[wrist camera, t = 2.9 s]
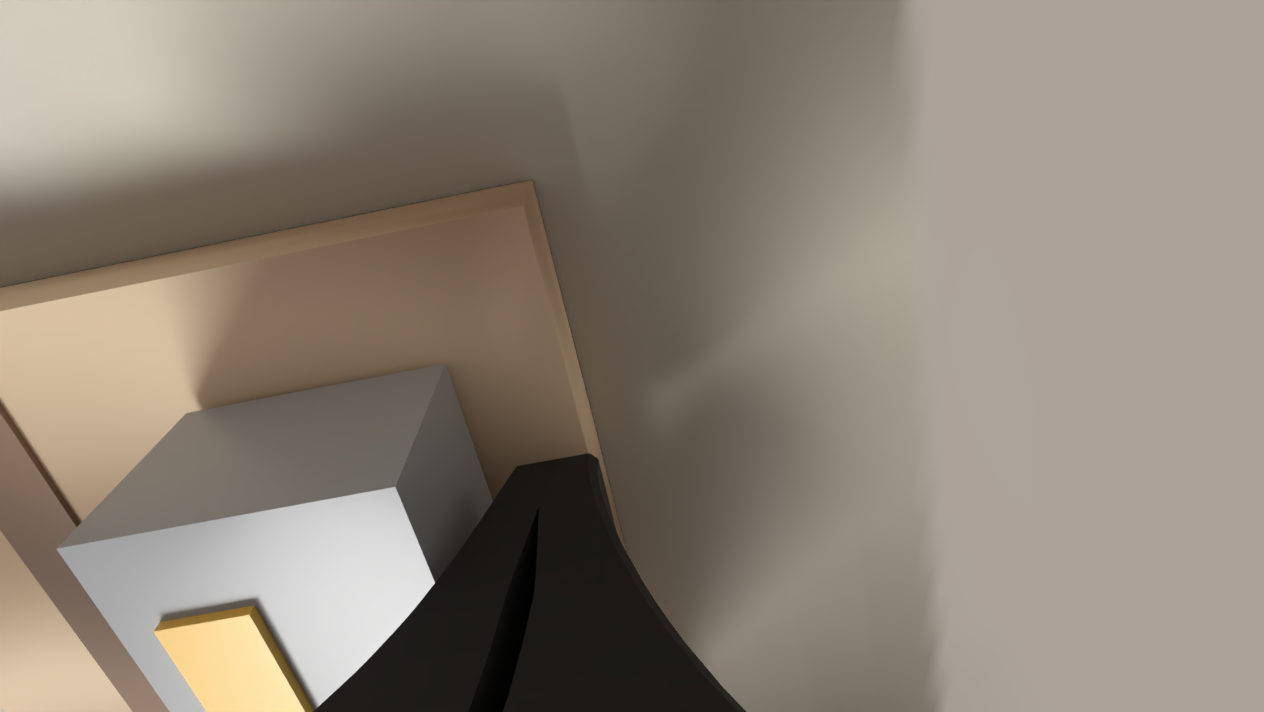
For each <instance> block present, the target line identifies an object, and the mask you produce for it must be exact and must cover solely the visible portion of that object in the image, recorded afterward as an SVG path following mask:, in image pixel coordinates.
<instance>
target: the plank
mask: <svg viewBox="0 0 1264 712" xmlns="http://www.w3.org/2000/svg"><path fill="white" fill-rule="evenodd" d="M441 364H446V366H447V369H448V372H449V375H450V378H451V381H452V384H453V387H454V390H455V392H456V395H457V398H458V401H459V404H460V407H461V410H462V413H463V416H464V419H465V421H466V424H467V427H468V430H469V433H470V436H471V439H472V442H473V445H474V448H475V451H476V453H477V456H478V459H479V462H480V465H481V468H482V471H483V474H484V477H485V480H486V482H487V485H488V488H489V491H490V494H491V497H492V500H494V499H495V497H496V496H497V494H498V493H499V491H500V490H501V488H502V487H503V485H504V484H505V482H506V481H507V479H508V478H509V476H510V475H511V474H512V472H513V471H514V469H515V468H516V467H517V466H520V465H526V464H532V463H537V462H543V461H548V460H554V459H560V458H565V457H571V456H576V455H582V454H588V453H590V454H592V455H593V456H595V457H597V458H598V459H599V463H600V467H601V471H602V475H603V479H604V483H605V487H606V491H607V495H608V499H609V503H610V507H611V511H612V515H613V519H614V523H615V527H616V531H617V534H618V536H619V538H620V541H621V543H622V545H623V547H624V549H625V551H626V547H625V543H624V539H623V535H622V531H621V527H620V523H619V519H618V516H617V512H616V508H615V504H614V500H613V496H612V492H611V488H610V484H609V480H608V476H607V472H606V468H605V464H604V460H603V456H602V453H601V449H600V445H599V441H598V437H597V433H596V429H595V425H594V421H593V417H592V413H591V409H590V405H589V401H588V397H587V393H586V389H585V386H584V382H583V378H582V374H581V370H580V366H579V362H578V358H577V354H576V350H575V346H574V342H573V338H572V334H571V330H570V326H569V322H568V319H567V315H566V311H565V307H564V303H563V299H562V295H561V291H560V287H559V283H558V279H557V275H556V271H555V267H554V263H553V259H552V255H551V252H550V248H549V244H548V240H547V236H546V232H545V228H544V224H543V220H542V216H541V212H540V208H539V204H538V200H537V196H536V192H535V188H534V185H533V181H532V180H529V181H524V182H519V183H514V184H509V185H504V186H499V187H494V188H489V189H484V190H479V191H474V192H470V193H465V194H460V195H455V196H450V197H445V198H440V199H435V200H430V201H425V202H420V203H415V204H411V205H406V206H401V207H396V208H391V209H386V210H381V211H376V212H371V213H366V214H361V215H356V216H351V217H347V218H342V219H337V220H332V221H327V222H322V223H317V224H312V225H307V226H302V227H297V228H292V229H287V230H283V231H278V232H273V233H268V234H263V235H258V236H253V237H248V238H243V239H238V240H233V241H228V242H223V243H219V244H214V245H209V246H204V247H199V248H194V249H189V250H184V251H179V252H174V253H169V254H164V255H159V256H155V257H150V258H145V259H140V260H135V261H130V262H125V263H120V264H115V265H110V266H105V267H100V268H95V269H91V270H86V271H81V272H76V273H71V274H66V275H61V276H56V277H51V278H46V279H41V280H36V281H31V282H27V283H22V284H17V285H12V286H7V287H2V288H0V708H1V709H2V710H3V712H170V711H169V710H168V709H167V707H166V706H165V704H164V703H163V701H162V700H161V698H160V697H159V696H158V694H157V693H156V691H155V690H154V688H153V687H152V686H151V684H150V683H149V681H148V680H147V678H146V677H145V675H144V674H143V673H142V671H141V670H140V668H139V667H138V665H137V664H136V663H135V661H134V660H133V658H132V657H131V655H130V654H129V652H128V651H127V650H126V648H125V647H124V645H123V644H122V642H121V641H120V640H119V638H118V637H117V635H116V634H115V632H114V631H113V629H112V628H111V627H110V625H109V624H108V622H107V621H106V619H105V618H104V617H103V615H102V614H101V612H100V611H99V609H98V608H97V607H96V605H95V604H94V602H93V601H92V599H91V598H90V596H89V595H88V594H87V592H86V591H85V589H84V588H83V586H82V585H81V584H80V582H79V581H78V579H77V578H76V576H75V575H74V573H73V572H72V571H71V569H70V568H69V566H68V565H67V563H66V562H65V561H64V559H63V558H62V556H61V555H60V553H59V552H58V550H57V548H58V546H59V545H60V544H61V543H62V542H63V541H64V540H65V539H66V538H67V537H68V536H69V535H70V534H71V533H72V532H73V531H74V530H75V529H76V528H77V527H78V526H79V525H80V524H81V522H82V521H83V520H84V519H85V518H86V517H87V516H88V515H89V514H90V513H91V512H92V511H93V510H94V509H95V508H96V507H97V506H98V505H99V504H100V503H101V502H102V501H103V500H104V498H105V497H106V496H107V495H108V494H109V493H110V492H111V491H112V490H113V489H114V488H115V487H116V486H117V485H118V484H119V483H120V482H121V481H122V480H123V479H124V478H125V477H126V476H127V474H128V473H129V472H130V471H131V470H132V469H133V468H134V467H135V466H136V465H137V464H138V463H139V462H140V461H141V460H142V459H143V458H144V457H145V456H146V455H147V454H148V453H149V452H150V450H151V449H152V448H153V447H154V446H155V445H156V444H157V443H158V442H159V441H160V440H161V439H162V438H163V437H164V436H165V435H166V434H167V433H168V432H169V431H170V430H171V429H172V428H173V426H174V425H175V424H176V423H177V422H178V421H179V420H180V419H181V418H182V417H183V416H184V415H185V414H186V413H189V412H195V411H200V410H205V409H210V408H215V407H221V406H226V405H231V404H236V403H242V402H247V401H252V400H257V399H263V398H268V397H273V396H278V395H284V394H289V393H294V392H299V391H304V390H310V389H315V388H320V387H325V386H331V385H336V384H341V383H346V382H352V381H357V380H362V379H367V378H373V377H378V376H383V375H388V374H394V373H399V372H404V371H409V370H414V369H420V368H425V367H430V366H435V365H441ZM626 553H627V551H626Z"/></svg>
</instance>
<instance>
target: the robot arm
mask: <svg viewBox="0 0 1264 712" xmlns="http://www.w3.org/2000/svg"><path fill="white" fill-rule="evenodd" d="M313 712H746V711H745V710H744V709H743V708H742V707H741V706H740V705H739V704H738V703H737V702H736V701H735V700H734V699H733V698H732V697H731V695H730V694H729V693H728V692H727V691H726V690H725V689H724V688H723V687H722V686H721V685H720V683H719V682H718V681H717V680H716V679H715V678H714V676H713V675H712V674H711V673H710V672H709V670H708V669H707V668H706V667H705V666H704V665H703V663H702V662H701V661H700V660H699V659H698V658H697V656H696V655H695V654H694V653H693V652H692V651H691V649H690V648H689V647H688V646H687V645H686V643H685V642H684V641H683V639H682V638H681V637H680V635H679V634H678V633H677V631H676V630H675V629H674V627H673V626H672V625H671V623H670V622H669V620H668V619H667V618H666V616H665V615H664V613H663V612H662V610H661V609H660V607H659V606H658V605H657V603H656V602H655V600H654V599H653V597H652V596H651V594H650V592H649V591H648V589H647V588H646V586H645V584H644V583H643V581H642V579H641V578H640V576H639V574H638V572H637V571H636V569H635V567H634V565H633V563H632V562H631V560H630V558H629V556H628V554H627V553H626V551H625V549H624V547H623V545H622V543H621V541H620V538H619V536H618V534H617V531H616V527H615V523H614V519H613V515H612V511H611V507H610V503H609V499H608V495H607V491H606V487H605V483H604V479H603V475H602V471H601V467H600V463H599V459H598V458H597V457H595V456H593V455H592V454H590V453H588V454H582V455H576V456H571V457H565V458H560V459H554V460H548V461H543V462H537V463H532V464H526V465H520V466H517V467H516V468H515V469H514V471H513V472H512V474H511V475H510V476H509V478H508V479H507V481H506V482H505V484H504V485H503V487H502V488H501V490H500V491H499V493H498V494H497V496H496V497H495V499H494V500H493V502H492V504H491V505H490V507H489V508H488V510H487V511H486V513H485V514H484V516H483V517H482V519H481V520H480V522H479V523H478V525H477V526H476V527H475V529H474V530H473V532H472V533H471V535H470V536H469V537H468V539H467V540H466V542H465V543H464V545H463V546H462V547H461V549H460V550H459V552H458V553H457V554H456V556H455V557H454V559H453V560H452V561H451V563H450V564H449V566H448V567H447V568H446V570H445V571H444V572H443V573H442V575H441V576H440V577H439V578H438V580H437V581H436V582H435V584H434V585H433V586H432V587H431V589H430V590H429V591H428V593H427V594H426V595H425V596H424V598H423V599H422V600H421V601H420V603H419V604H418V605H417V606H416V608H415V609H414V610H413V611H412V612H411V613H410V615H409V616H408V617H407V618H406V619H405V620H404V621H403V623H402V624H401V625H400V626H399V627H398V628H397V629H396V630H395V632H394V633H393V634H392V635H391V636H390V637H389V638H388V639H387V640H386V641H385V642H384V643H383V644H382V645H381V646H380V648H379V649H378V650H377V651H376V652H375V653H374V654H373V655H372V656H371V657H370V658H369V659H368V660H367V661H366V662H365V663H364V664H363V665H362V666H361V667H360V668H359V669H358V670H357V671H356V672H355V673H354V674H353V675H352V676H351V677H350V678H349V679H348V680H347V681H346V682H344V683H343V684H342V685H341V686H340V687H339V688H338V689H337V690H336V691H335V692H334V693H333V694H332V695H330V696H329V697H328V698H327V699H326V700H325V701H324V702H323V703H322V704H321V705H320V706H319V707H317V708H316V709H315V710H314V711H313Z"/></svg>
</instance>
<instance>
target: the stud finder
mask: <svg viewBox="0 0 1264 712" xmlns="http://www.w3.org/2000/svg"><path fill="white" fill-rule="evenodd" d="M492 502H493V500H492V497H491V494H490V491H489V488H488V485H487V482H486V480H485V477H484V474H483V471H482V468H481V465H480V462H479V459H478V456H477V453H476V451H475V448H474V445H473V442H472V439H471V436H470V433H469V430H468V427H467V424H466V421H465V419H464V416H463V413H462V410H461V407H460V404H459V401H458V398H457V395H456V392H455V390H454V387H453V384H452V381H451V378H450V375H449V372H448V369H447V366H446V364H441V365H435V366H430V367H425V368H420V369H414V370H409V371H404V372H399V373H394V374H388V375H383V376H378V377H373V378H367V379H362V380H357V381H352V382H346V383H341V384H336V385H331V386H325V387H320V388H315V389H310V390H304V391H299V392H294V393H289V394H284V395H278V396H273V397H268V398H263V399H257V400H252V401H247V402H242V403H236V404H231V405H226V406H221V407H215V408H210V409H205V410H200V411H195V412H189V413H186V414H185V415H184V416H183V417H182V418H181V419H180V420H179V421H178V422H177V423H176V424H175V425H174V426H173V428H172V429H171V430H170V431H169V432H168V433H167V434H166V435H165V436H164V437H163V438H162V439H161V440H160V441H159V442H158V443H157V444H156V445H155V446H154V447H153V448H152V449H151V450H150V452H149V453H148V454H147V455H146V456H145V457H144V458H143V459H142V460H141V461H140V462H139V463H138V464H137V465H136V466H135V467H134V468H133V469H132V470H131V471H130V472H129V473H128V474H127V476H126V477H125V478H124V479H123V480H122V481H121V482H120V483H119V484H118V485H117V486H116V487H115V488H114V489H113V490H112V491H111V492H110V493H109V494H108V495H107V496H106V497H105V498H104V500H103V501H102V502H101V503H100V504H99V505H98V506H97V507H96V508H95V509H94V510H93V511H92V512H91V513H90V514H89V515H88V516H87V517H86V518H85V519H84V520H83V521H82V522H81V524H80V525H79V526H78V527H77V528H76V529H75V530H74V531H73V532H72V533H71V534H70V535H69V536H68V537H67V538H66V539H65V540H64V541H63V542H62V543H61V544H60V545H59V546H58V548H57V550H58V552H59V553H60V555H61V556H62V558H63V559H64V561H65V562H66V563H67V565H68V566H69V568H70V569H71V571H72V572H73V573H74V575H75V576H76V578H77V579H78V581H79V582H80V584H81V585H82V586H83V588H84V589H85V591H86V592H87V594H88V595H89V596H90V598H91V599H92V601H93V602H94V604H95V605H96V607H97V608H98V609H99V611H100V612H101V614H102V615H103V617H104V618H105V619H106V621H107V622H108V624H109V625H110V627H111V628H112V629H113V631H114V632H115V634H116V635H117V637H118V638H119V640H120V641H121V642H122V644H123V645H124V647H125V648H126V650H127V651H128V652H129V654H130V655H131V657H132V658H133V660H134V661H135V663H136V664H137V665H138V667H139V668H140V670H141V671H142V673H143V674H144V675H145V677H146V678H147V680H148V681H149V683H150V684H151V686H152V687H153V688H154V690H155V691H156V693H157V694H158V696H159V697H160V698H161V700H162V701H163V703H164V704H165V706H166V707H167V709H168V710H169V711H170V712H313V711H314V710H315V709H316V708H317V707H319V706H320V705H321V704H322V703H323V702H324V701H325V700H326V699H327V698H328V697H329V696H330V695H332V694H333V693H334V692H335V691H336V690H337V689H338V688H339V687H340V686H341V685H342V684H343V683H344V682H346V681H347V680H348V679H349V678H350V677H351V676H352V675H353V674H354V673H355V672H356V671H357V670H358V669H359V668H360V667H361V666H362V665H363V664H364V663H365V662H366V661H367V660H368V659H369V658H370V657H371V656H372V655H373V654H374V653H375V652H376V651H377V650H378V649H379V648H380V646H381V645H382V644H383V643H384V642H385V641H386V640H387V639H388V638H389V637H390V636H391V635H392V634H393V633H394V632H395V630H396V629H397V628H398V627H399V626H400V625H401V624H402V623H403V621H404V620H405V619H406V618H407V617H408V616H409V615H410V613H411V612H412V611H413V610H414V609H415V608H416V606H417V605H418V604H419V603H420V601H421V600H422V599H423V598H424V596H425V595H426V594H427V593H428V591H429V590H430V589H431V587H432V586H433V585H434V584H435V582H436V581H437V580H438V578H439V577H440V576H441V575H442V573H443V572H444V571H445V570H446V568H447V567H448V566H449V564H450V563H451V561H452V560H453V559H454V557H455V556H456V554H457V553H458V552H459V550H460V549H461V547H462V546H463V545H464V543H465V542H466V540H467V539H468V537H469V536H470V535H471V533H472V532H473V530H474V529H475V527H476V526H477V525H478V523H479V522H480V520H481V519H482V517H483V516H484V514H485V513H486V511H487V510H488V508H489V507H490V505H491V504H492Z"/></svg>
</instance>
